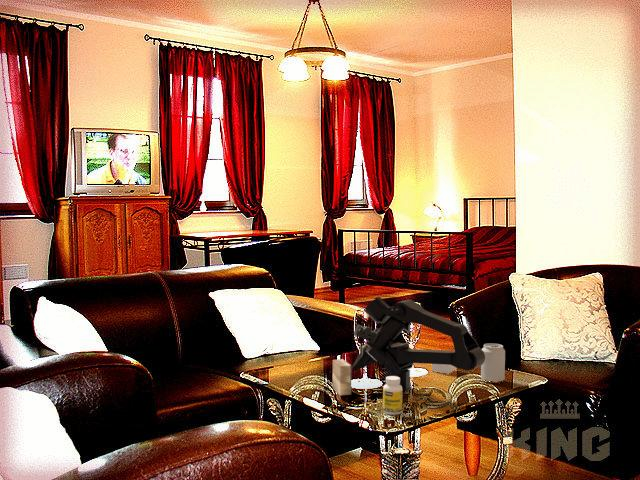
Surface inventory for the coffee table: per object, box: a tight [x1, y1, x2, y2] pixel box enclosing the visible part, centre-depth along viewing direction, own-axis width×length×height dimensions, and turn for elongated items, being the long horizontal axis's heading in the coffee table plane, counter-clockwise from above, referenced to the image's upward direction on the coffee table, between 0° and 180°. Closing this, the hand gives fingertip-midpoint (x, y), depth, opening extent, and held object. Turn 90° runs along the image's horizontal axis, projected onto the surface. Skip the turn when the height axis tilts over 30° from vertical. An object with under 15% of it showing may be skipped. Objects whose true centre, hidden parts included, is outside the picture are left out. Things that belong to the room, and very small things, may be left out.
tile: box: [332, 358, 352, 396], centre depth 212 cm, size 4×8×9 cm, turn 16°
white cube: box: [431, 364, 456, 375], centre depth 237 cm, size 6×6×6 cm
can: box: [480, 343, 506, 382], centre depth 224 cm, size 8×8×12 cm
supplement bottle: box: [382, 376, 403, 416], centre depth 193 cm, size 5×5×10 cm
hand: (352, 369), depth 214 cm, fingers closed
